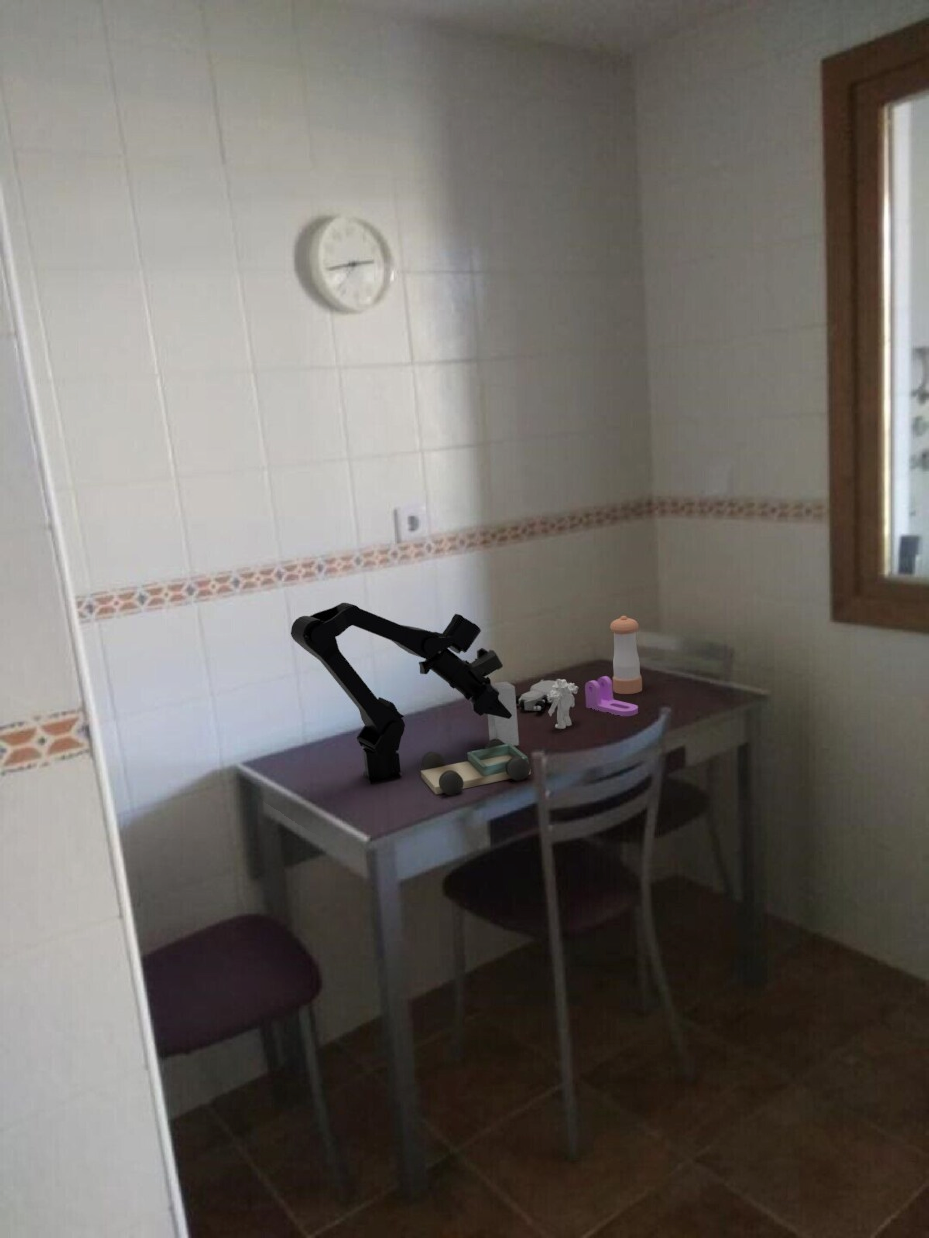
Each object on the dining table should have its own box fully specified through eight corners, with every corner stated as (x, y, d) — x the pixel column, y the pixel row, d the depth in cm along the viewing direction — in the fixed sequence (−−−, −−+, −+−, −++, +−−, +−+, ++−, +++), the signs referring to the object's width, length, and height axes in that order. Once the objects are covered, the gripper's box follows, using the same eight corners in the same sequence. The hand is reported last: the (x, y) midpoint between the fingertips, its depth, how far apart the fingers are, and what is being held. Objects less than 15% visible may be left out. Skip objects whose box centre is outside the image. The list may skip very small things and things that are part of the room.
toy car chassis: (439, 798, 183) (436, 776, 182) (418, 774, 196) (416, 754, 195) (534, 777, 189) (532, 756, 188) (508, 755, 202) (507, 736, 201)
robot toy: (540, 721, 225) (582, 700, 235) (537, 703, 224) (580, 683, 233) (504, 712, 235) (546, 692, 244) (501, 695, 233) (543, 676, 243)
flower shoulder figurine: (557, 733, 214) (554, 681, 211) (544, 729, 216) (540, 679, 214) (583, 721, 220) (580, 671, 217) (570, 718, 222) (566, 669, 220)
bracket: (586, 708, 230) (584, 680, 228) (602, 702, 233) (600, 674, 231) (627, 718, 220) (625, 689, 218) (643, 712, 223) (641, 683, 221)
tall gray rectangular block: (497, 748, 204) (492, 690, 201) (489, 741, 209) (485, 684, 206) (518, 744, 205) (514, 686, 203) (511, 738, 210) (506, 681, 207)
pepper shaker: (611, 694, 238) (606, 619, 234) (615, 685, 245) (611, 613, 241) (640, 694, 236) (636, 619, 232) (643, 685, 243) (640, 612, 239)
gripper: (485, 651, 193) (542, 696, 196) (470, 631, 211) (522, 673, 214) (450, 693, 193) (507, 737, 197) (438, 670, 211) (491, 711, 215)
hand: (508, 713), depth 206 cm, fingers closed on tall gray rectangular block, 5 cm apart
